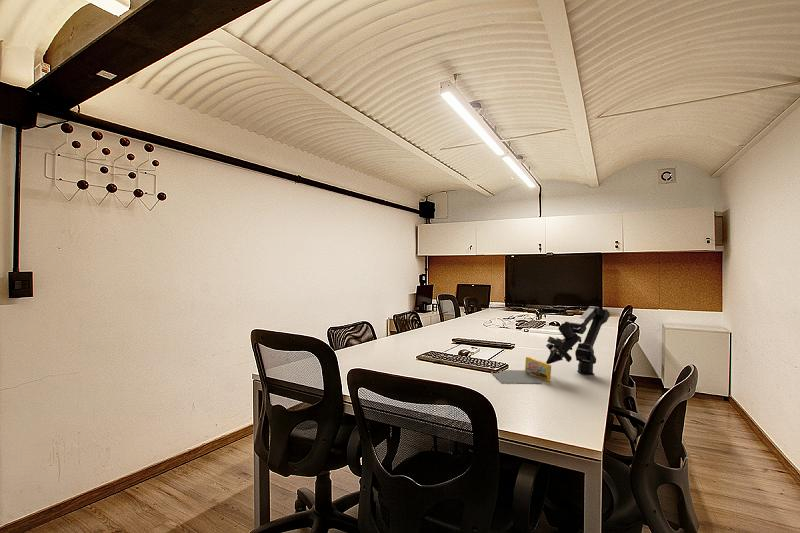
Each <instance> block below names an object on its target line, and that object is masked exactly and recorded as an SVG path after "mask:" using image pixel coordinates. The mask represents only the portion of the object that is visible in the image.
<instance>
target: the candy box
mask: <svg viewBox="0 0 800 533" xmlns="http://www.w3.org/2000/svg"><path fill="white" fill-rule="evenodd" d="M524 364H525V366H524V370H525V372H527V373H529V374H531V375H532V376H533V377H535V378H538V379H541V380H543V381H546V382H551V374H552V364H547V363H546V362H543V361H541V360H538V359H536V358H532V357H530V356H526V357H525V363H524Z"/></svg>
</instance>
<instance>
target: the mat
mask: <svg viewBox="0 0 800 533" xmlns="http://www.w3.org/2000/svg"><path fill="white" fill-rule="evenodd" d="M502 370H503V371H500V372H499V373H493V372H490V373H491V374H492V375H493V376H494V377H495V379H496V380H497V381H498V380H499V381H500V382H501V383H513V385H519V384H522V385H526V384H529V385H531V384H532V385H534V384H535V385H541V384H542V381H540V380H538V379H537V377H536V376H534V375H531V374H529V373H527V372H525V369H521V370H519V369H502ZM499 381H498V382H499ZM500 382H499V383H500ZM501 383H500V384H501ZM514 383H516V384H514Z"/></svg>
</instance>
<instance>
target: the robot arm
mask: <svg viewBox="0 0 800 533" xmlns="http://www.w3.org/2000/svg"><path fill="white" fill-rule="evenodd" d="M610 314H611V313H610V311H609V310H608V309H604V308H600V307H598V306H591V305H590V306H588V307H587V309H586V310H585V312H583V314H582V315H581V316H579V318H577V319H574V320H572V321H565V322H564V323H561V324H560V325H559V326H558V331H559V333H560V334H561V335H562V336H563V339H562V338H559V337H552V336H548V339H547V340H546V341H547V344H546V345H545V347H546V348H547V349H548V350H549V352H550V353H549V356H548V357H547V360H546V361H545V363H547V364H549V365H552V364H553V363H557V362H559V361H564V359H565V361H566V362H567V363H570V362H571V361H572V356H571V355H570V353H568V352H569V351H572V350H573V347H574V346H575V345H576V344H577V343H578V342H579V343H578V344H577V347H576V350H575V352H574V354H575V361H578V364H577V370H576V371H577V372H578V373H580V374H581V375H590V376H591V375H592V376H593V375H595V373H594V364H595V365H596V363H597V357H596V356H595V349H594V344H595V343H596V340H597V337H598V335H599V332H600V330H601V327H602V325H604V324H605V323H607V322H608V320H609V318H610ZM591 321H592V322H591ZM590 322H591V324H590V327H589V328H588V331H587V325H588V324H589V323H590ZM586 331H587V333H586V336H585V338H584V340H583V342H582V337H581V336H580V335H583V334H584V333H585V332H586ZM563 358H564V359H563Z"/></svg>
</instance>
